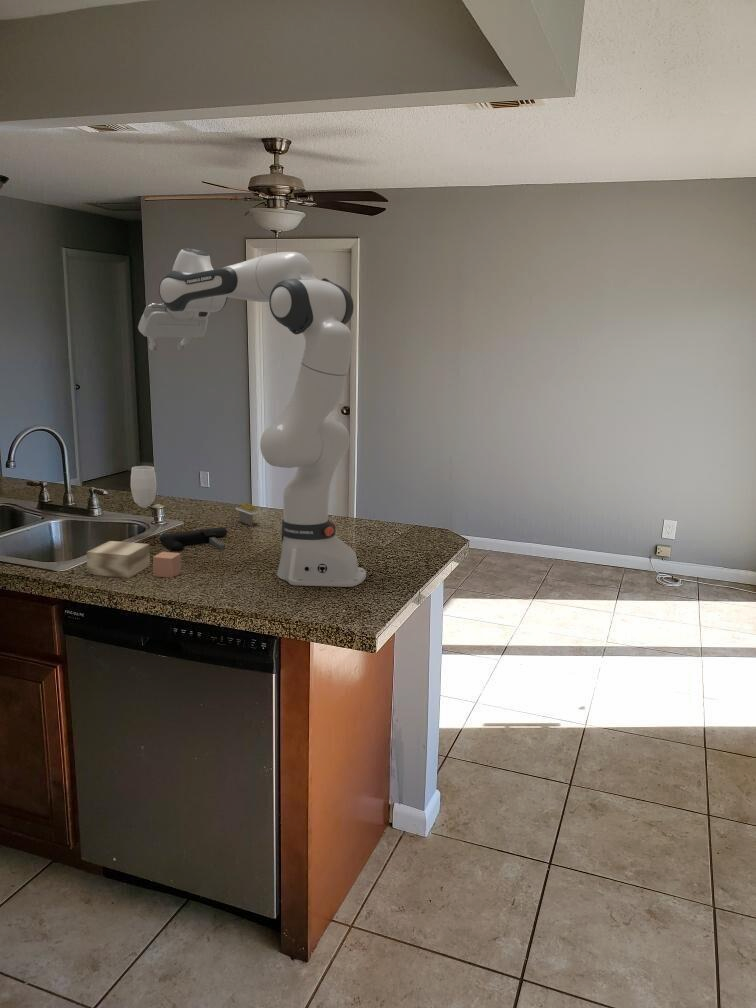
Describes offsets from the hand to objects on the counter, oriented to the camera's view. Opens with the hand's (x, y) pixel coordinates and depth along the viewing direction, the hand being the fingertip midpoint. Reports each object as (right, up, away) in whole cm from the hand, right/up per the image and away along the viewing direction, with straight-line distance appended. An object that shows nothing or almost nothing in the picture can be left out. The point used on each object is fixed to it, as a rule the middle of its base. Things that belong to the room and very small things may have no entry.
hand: (166, 349), depth 222 cm
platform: (+18, -51, +29) cm, 61 cm away
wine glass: (-8, -54, +8) cm, 55 cm away
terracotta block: (+7, -61, -26) cm, 67 cm away
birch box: (-5, -61, -24) cm, 65 cm away
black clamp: (+9, -56, +3) cm, 57 cm away
